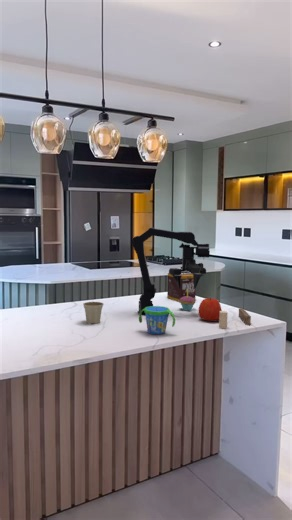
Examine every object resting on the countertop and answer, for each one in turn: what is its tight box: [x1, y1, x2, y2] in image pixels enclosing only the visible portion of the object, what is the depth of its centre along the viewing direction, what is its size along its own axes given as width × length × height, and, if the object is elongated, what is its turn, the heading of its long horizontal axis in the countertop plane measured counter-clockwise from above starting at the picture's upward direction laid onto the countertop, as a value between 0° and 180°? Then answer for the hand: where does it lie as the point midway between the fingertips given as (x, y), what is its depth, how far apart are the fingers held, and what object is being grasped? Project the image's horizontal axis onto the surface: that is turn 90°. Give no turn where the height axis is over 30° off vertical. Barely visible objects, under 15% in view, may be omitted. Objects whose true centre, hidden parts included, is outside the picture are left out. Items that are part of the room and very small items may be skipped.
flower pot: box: [82, 301, 104, 325], centre depth 178 cm, size 9×9×9 cm
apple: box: [198, 297, 223, 322], centre depth 182 cm, size 11×11×11 cm
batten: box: [238, 308, 252, 326], centre depth 182 cm, size 2×16×4 cm, turn 178°
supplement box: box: [166, 272, 197, 303], centre depth 231 cm, size 10×15×16 cm
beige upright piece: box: [217, 310, 228, 329], centre depth 182 cm, size 3×28×7 cm, turn 178°
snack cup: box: [138, 305, 176, 335], centre depth 162 cm, size 16×10×10 cm
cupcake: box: [178, 289, 196, 311], centre depth 205 cm, size 9×8×12 cm
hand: (187, 288), depth 193 cm, fingers open, 9 cm apart
